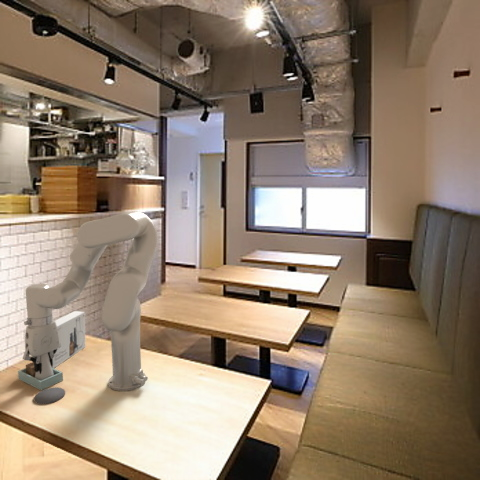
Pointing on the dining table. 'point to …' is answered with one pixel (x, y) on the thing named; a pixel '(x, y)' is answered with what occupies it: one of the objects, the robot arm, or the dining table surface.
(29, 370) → the walnut block
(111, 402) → the dining table surface
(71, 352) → the skincare box
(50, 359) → the robot arm
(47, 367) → the salt shaker
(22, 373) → the tray
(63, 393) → the coaster
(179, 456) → the dining table surface
